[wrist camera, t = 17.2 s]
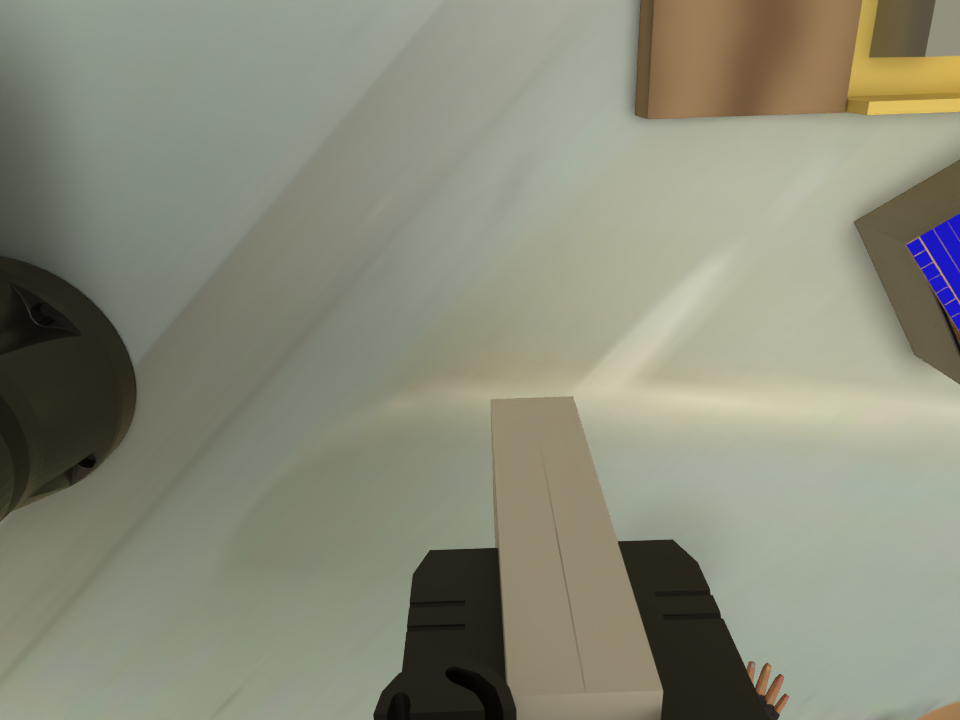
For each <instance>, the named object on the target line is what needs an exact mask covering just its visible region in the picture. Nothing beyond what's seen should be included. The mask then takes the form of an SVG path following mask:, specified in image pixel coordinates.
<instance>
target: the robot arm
mask: <svg viewBox="0 0 960 720" xmlns="http://www.w3.org/2000/svg"><path fill="white" fill-rule="evenodd" d="M135 397H136V392H135V380H134V374H133V370H132V366H131V363H130V360H129V357H128V354H127V352H126V350H125V347H124V345H123V343H122V342H121V340H120V338H119V336H118V335H117V333H116V331H115V330H114V328H113V327H112V325H111V324H110V323H109V321H108V320H107V319H106V318H105V316H104V315H103V314H102V313H101V312H100V311H99V310H98V309H97V307H96V306H95V305H94V304H92V303H91V302H90V301H89V300H88V299H87V298H86V297H85V296H84V295H82V294H81V293H80V292H79V291H77V290H76V289H75V288H73V287H72V286H71V285H69V284H67V283H66V282H64V281H63V280H61V279H59V278H58V277H56V276H54V275H52V274H50V273H48V272H46V271H44V270H42V269H40V268H37V267H35V266H32V265H29V264H26V263H23V262H20V261H16V260H12V259H8V258H3V257H0V522H1V521H2V520H3V519H4V518H5V517H6V516H7V515H8V514H9V513H10V512H11V511H14V510H16V509H18V508H21V507H23V506H26V505H28V504H30V503H33V502H35V501H37V500H40V499H42V498H44V497H47V496H49V495H51V494H54V493H56V492H58V491H61V490H63V489H65V488H68V487H70V486H72V485H74V484H76V483H77V482H79V481H81V480H82V479H84V478H85V477H87V476H88V475H89V474H91V473H92V472H93V471H94V470H96V469H97V468H98V467H99V466H100V465H101V464H102V463H103V462H104V460H105V459H106V458H107V457H108V456H109V455H110V454H111V453H112V452H113V451H114V450H115V448H116V447H117V446H118V445H119V444H120V442H121V441H122V439H123V438H124V436H125V434H126V433H127V430H128V428H129V426H130V423H131V420H132V417H133V413H134V408H135ZM491 431H492V466H493V500H494V530H495V548H482V549H453V550H430V551H429V552H428V554H427V555H426V556H425V558H424V559H423V561H422V562H421V564H420V565H419V566H418V568H417V569H416V571H415V572H414V574H413V578H412V587H411V596H410V608H409V614H408V623H407V632H406V641H405V650H404V659H403V668H402V672H401V673H399V674H398V675H397V676H396V677H395V678H394V679H393V680H392V682H391V683H390V684H389V685H388V686H387V687H386V688H385V689H384V690H383V691H382V693H381V696H380V698H379V701H378V704H377V706H376V709H375V711H374V714H373V715H374V720H772V719H770V717H769V716H768V714H767V713H766V711H765V709H764V707H763V705H762V703H761V701H760V699H759V696H758V694H757V692H756V690H755V688H754V685H753V683H752V681H751V679H750V677H749V674H748V672H747V670H746V668H745V666H744V663H743V661H742V659H741V657H740V655H739V652H738V650H737V648H736V646H735V644H734V641H733V639H732V637H731V635H730V633H729V630H728V628H727V626H726V624H725V622H724V619H721V615H720V611H719V608H718V606H717V604H716V602H715V600H714V597H713V595H711V594H710V589H709V586H708V584H707V582H706V580H705V578H704V575H703V573H702V571H701V569H700V567H699V564H698V562H697V561H696V560H694V559H693V558H692V557H691V556H690V555H689V554H688V553H687V552H686V551H685V550H684V549H682V548H681V547H680V546H679V545H678V544H677V543H676V542H675V541H674V540H647V541H618V542H617V538H616V535H615V532H614V529H613V525H612V522H611V519H610V516H609V512H608V509H607V506H606V503H605V499H604V496H603V493H602V490H601V486H600V483H599V480H598V477H597V473H596V470H595V467H594V464H593V460H592V457H591V454H590V451H589V447H588V444H587V441H586V438H585V434H584V431H583V428H582V424H581V421H580V418H579V415H578V411H577V408H576V405H575V402H574V398H573V397H545V398H516V399H491Z"/></svg>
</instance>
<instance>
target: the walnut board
mask: <svg viewBox="0 0 960 720" xmlns="http://www.w3.org/2000/svg"><path fill="white" fill-rule="evenodd" d="M861 6H862V0H641V5H640V26H639V46H638V66H637V86H636V106H635V115H637V116H640V117H643V118H646V119H664V118H693V117H722V116H751V115H780V114H809V113H838V112H845V108H846V102H847V95H848V89H849V83H850V76H851V70H852V63H853V57H854V51H855V44H856V38H857V32H858V25H859V19H860V13H861Z"/></svg>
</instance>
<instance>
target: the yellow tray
mask: <svg viewBox="0 0 960 720" xmlns="http://www.w3.org/2000/svg"><path fill="white" fill-rule="evenodd" d="M877 6H878V0H862V6H861V13H860V19H859V25H858V32H857V38H856V44H855V51H854V57H853V63H852V70H851V76H850V83H849V89H848V95H847V102H846V108H845V112H849V113H857V114H864V115H879V114H908V113H937V112H960V56H937V57H872V58H869V54H870V48H871V42H872V36H873V30H874V24H875V18H876V12H877Z"/></svg>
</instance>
